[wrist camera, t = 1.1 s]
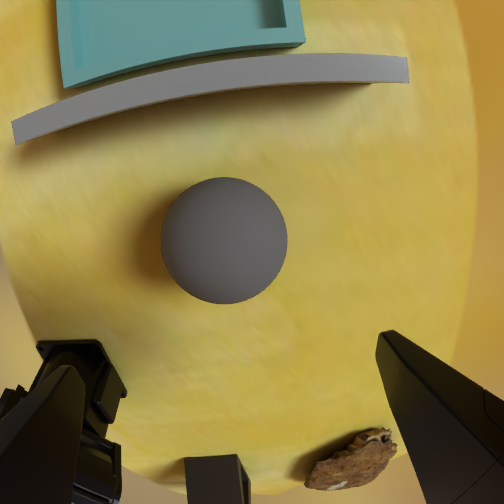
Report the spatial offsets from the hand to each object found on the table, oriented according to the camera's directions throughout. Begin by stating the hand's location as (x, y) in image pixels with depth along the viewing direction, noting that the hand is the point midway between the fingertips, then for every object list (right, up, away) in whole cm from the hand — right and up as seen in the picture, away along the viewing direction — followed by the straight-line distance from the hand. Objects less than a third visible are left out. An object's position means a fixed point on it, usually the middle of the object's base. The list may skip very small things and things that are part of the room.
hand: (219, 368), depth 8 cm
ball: (0, +4, +7) cm, 8 cm away
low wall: (-1, +12, +6) cm, 13 cm away
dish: (-3, +18, +3) cm, 19 cm away
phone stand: (-3, -23, +24) cm, 33 cm away
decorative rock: (+13, -22, +25) cm, 35 cm away
